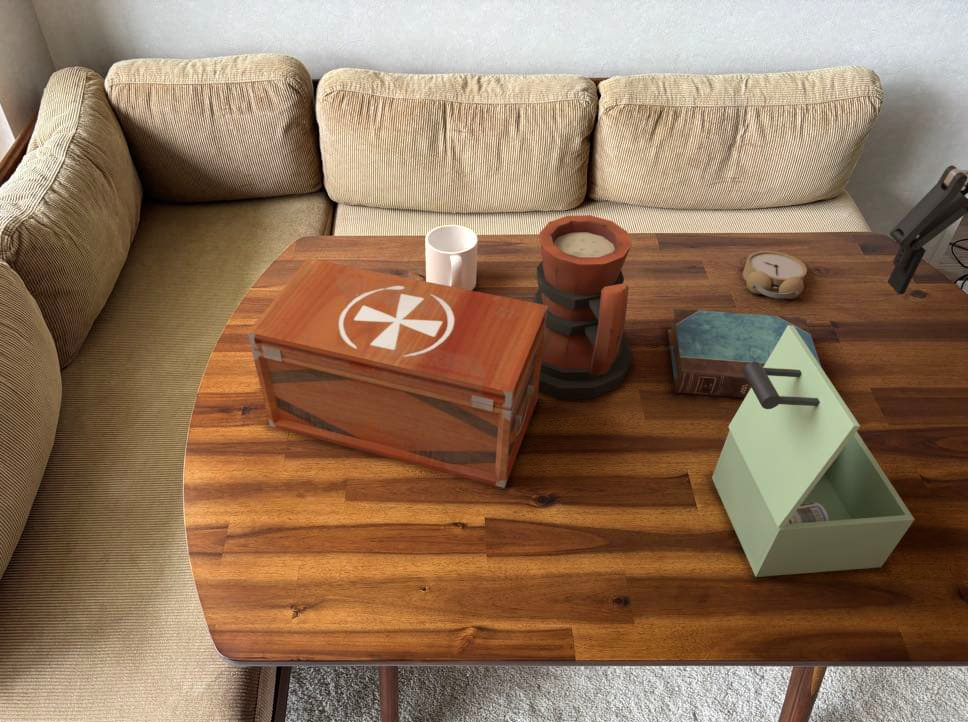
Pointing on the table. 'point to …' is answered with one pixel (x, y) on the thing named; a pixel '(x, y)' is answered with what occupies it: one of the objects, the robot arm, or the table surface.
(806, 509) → the pill bottle
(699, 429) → the table surface
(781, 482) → the lid
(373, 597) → the table surface
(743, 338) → the book
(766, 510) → the chest
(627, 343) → the tankard
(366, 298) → the wooden box
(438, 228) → the mug
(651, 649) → the table surface
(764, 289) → the alarm clock
